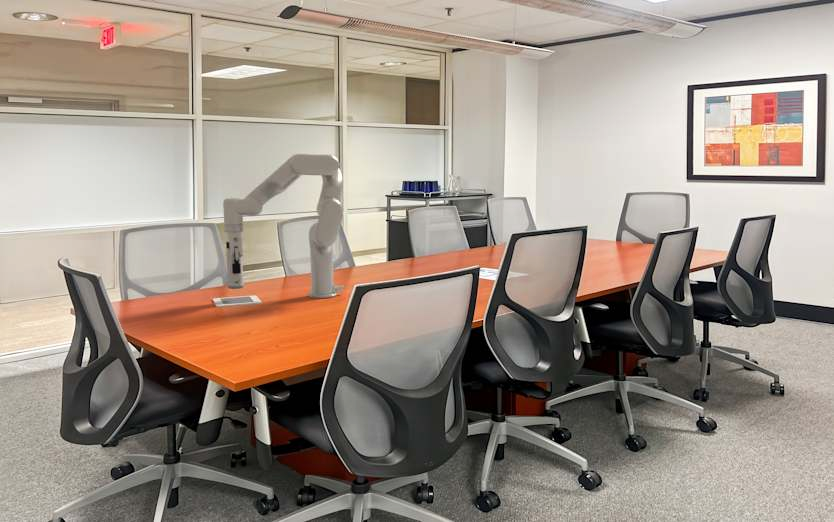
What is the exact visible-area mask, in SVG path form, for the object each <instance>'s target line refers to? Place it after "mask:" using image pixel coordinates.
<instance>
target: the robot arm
mask: <svg viewBox="0 0 834 522" xmlns="http://www.w3.org/2000/svg"><path fill="white" fill-rule="evenodd" d="M302 176H321V178H322V185H321V191H320V194H319V199H318V202H317V205H316V214H317V215H318V219H317V220H318V221H317V222H315V223H313V224H312V225H311V227H310V228H309V231H308V241H309V242H308V243H309V253H310V255H309V256H310V286H311V287H310V288H311V290H310V291H309V292H308V293H307V296H308V297H309V298H313V299H325V298H326V299H327V298H334V297H336V296H338V292H339V291H345V288H346V287H345V285H336V284H334V252H333V251H334V249H333V245H334V244H335V242H336V240H337V239H338V236H339V232H340V228H341V224H342V220H343V218H344V217H343V215H344V208H343V204H342V203H341V197H342V192H343V186H344V179H343V174H342V172H341V170H340V161H339V159H338V158H337V157H336V156H335V155H332V154H307V153H306V154H305V153H295V154H293V155H292V156H291V157H289V158H288V159H287V160H286V161H285V162H283V163H282V164H281V165H280V166H279V167H278V168H277V169H275V171H273V172H272V174H270V175H269V176H268V177H267V178H265V179H264V180H263V182H261V183H260V184H259V185H258V186H257V187H255V188H254V189H253V190H252V191H251V192H249V194H247V195H246V196H245V197H244V198H239V197H237V198H236V197H235V198H234V197H231V198H229V197H228V198H225V199H224V200H222V201H223V203H222V204H223V205H222V206H223V226H224V227H223V229H224V232H223V233H225V234H227V242H229V249H230V255H231V257H232V259H233V264H232V272H233V274H238V273H241V266H240V256H241V257H242V258H243V256H244V253H243V252H244V251H243V248H244V247H243V236H242V233H244V216H248V217H257V216H258V215H260V214H261V213H262V210H263V206H264V205H266V203H267V202H269V201H270V200H271V199H273V198H274V197H276V196H278V195H280V194H282V193H284V192H286V190H287V189H289V188H290V187H291V186H292V185H293V184H294V183H295V182H296V181H297V180H298V179H299V178H300V177H302ZM234 250H235V251H234ZM234 254H235V256H233V255H234ZM239 254H240V256H239Z"/></svg>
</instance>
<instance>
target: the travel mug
mask: <svg viewBox="0 0 834 522" xmlns="http://www.w3.org/2000/svg"><path fill="white" fill-rule="evenodd" d="M225 243H226V244H225V246H226V248H225V249H226V273H227V274H226V275H227V277H226V278H227V288H228V289H230V290H238V289H243V288H244V269H243V268H244V266H243V264H244V263H243V256H242V257H241V256H240V254H239V256H240V266H241V273H238V274H233V272H232V264H233V259H232V257H231V255H230V249H229V242H228V241H226V242H225ZM234 251H235V250H234ZM233 256H235V254H234V255H233Z"/></svg>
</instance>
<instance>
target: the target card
mask: <svg viewBox="0 0 834 522" xmlns="http://www.w3.org/2000/svg"><path fill="white" fill-rule="evenodd" d="M212 302H213V304H214V305H215V307H216V308H226V307H236V306H237V307H239V306H251V305H262V304H263V302H262V300H261V299H260V298H259V297H258V295H255V294H254V295H243V296H241V295H240V296H229V297H217V298H216V297H215V298H212Z"/></svg>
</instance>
